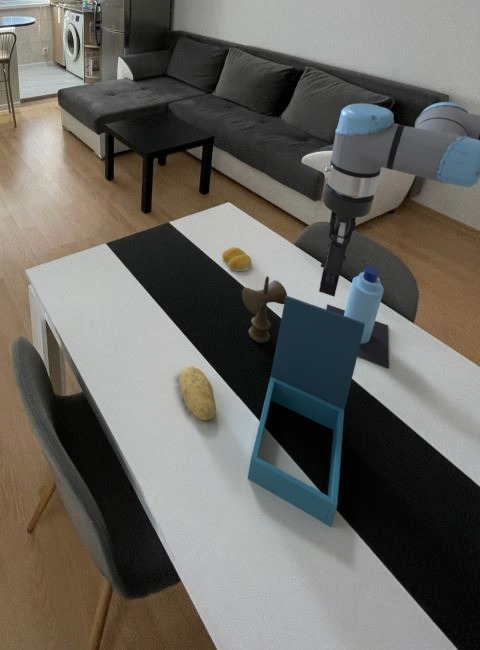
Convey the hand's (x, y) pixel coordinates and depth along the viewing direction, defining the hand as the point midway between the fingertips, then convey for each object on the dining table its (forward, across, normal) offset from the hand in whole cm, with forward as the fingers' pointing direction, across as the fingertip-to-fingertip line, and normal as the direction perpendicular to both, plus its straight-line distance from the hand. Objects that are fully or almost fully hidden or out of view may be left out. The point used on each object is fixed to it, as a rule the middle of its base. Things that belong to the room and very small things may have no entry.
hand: (327, 289), depth 85 cm
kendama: (+31, -10, -12) cm, 34 cm away
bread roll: (+31, -35, -24) cm, 53 cm away
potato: (+31, +15, -20) cm, 39 cm away
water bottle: (+30, -23, +9) cm, 39 cm away
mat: (+30, -23, +9) cm, 39 cm away
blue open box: (+30, +16, 0) cm, 34 cm away
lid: (+12, +5, 0) cm, 13 cm away
